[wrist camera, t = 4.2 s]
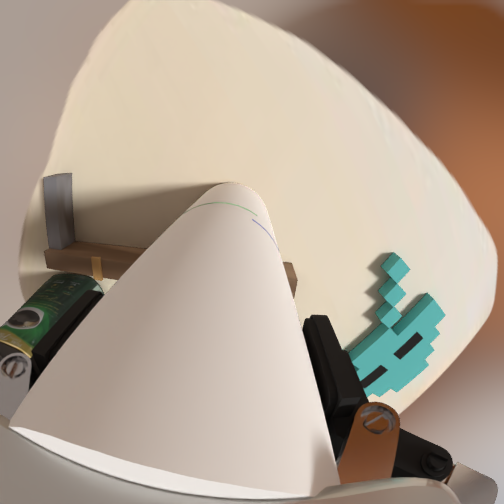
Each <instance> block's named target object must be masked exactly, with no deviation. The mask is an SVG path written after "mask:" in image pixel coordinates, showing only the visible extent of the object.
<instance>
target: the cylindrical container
mask: <svg viewBox="0 0 504 504" xmlns="http://www.w3.org/2000/svg"><path fill="white" fill-rule="evenodd" d="M8 427H9V428H10V429H12V430H13V431H15V432H17V433H18V434H20V435H22V436H23V437H25V438H27V439H29V440H30V441H32V442H34V443H36V444H38V445H39V446H41V447H43V448H45V449H47V450H49V451H51V452H53V453H55V454H57V455H60V456H62V457H64V458H66V459H68V460H71V461H73V462H75V463H78V464H80V465H83V466H85V467H88V468H90V469H93V470H96V471H98V472H101V473H104V474H107V475H110V476H113V477H116V478H119V479H123V480H126V481H129V482H133V483H137V484H140V485H144V486H149V487H153V488H157V489H162V490H167V491H172V492H178V493H184V494H190V495H197V496H205V497H215V498H227V499H246V500H277V499H296V498H308V497H315V496H316V495H317V494H318V493H319V492H320V491H321V490H323V489H324V488H325V487H327V486H334V485H341V484H340V479H339V475H338V470H337V466H336V462H335V457H334V453H333V449H332V444H331V440H330V436H329V432H328V428H327V424H326V419H325V415H324V411H323V407H322V403H321V399H320V395H319V391H318V388H317V384H316V380H315V376H314V372H313V368H312V365H311V361H310V357H309V353H308V350H307V346H306V342H305V338H304V335H303V331H302V327H301V324H300V320H299V317H298V313H297V310H296V306H295V303H294V299H293V296H292V292H291V289H290V286H289V282H288V279H287V275H286V272H285V269H284V265H283V262H282V259H281V255H280V252H279V249H278V245H277V242H276V238H275V235H274V232H273V228H272V225H271V222H270V219H269V216H268V212H267V209H266V206H265V204H264V202H263V200H262V199H261V197H260V196H259V195H258V194H257V193H256V192H255V191H254V190H252V189H251V188H249V187H247V186H245V185H242V184H239V183H223V184H219V185H216V186H214V187H213V188H211V189H209V190H208V191H207V192H206V193H204V194H203V195H202V196H201V197H200V198H199V199H198V200H197V201H196V202H195V203H194V204H193V205H191V206H190V207H189V208H188V209H187V210H186V211H185V212H184V213H183V214H182V215H181V216H180V217H179V218H178V219H177V220H176V221H175V222H174V223H173V224H172V225H171V226H170V227H169V228H168V229H167V230H166V231H165V232H164V233H163V234H162V235H161V236H160V237H159V238H158V239H157V240H156V241H155V242H154V243H153V244H152V245H151V246H150V247H149V248H148V249H147V250H146V251H145V252H144V253H143V254H142V255H141V256H140V257H139V258H138V259H137V260H136V261H135V262H134V263H133V264H132V266H131V267H130V268H129V269H128V270H127V271H126V272H125V273H124V274H123V275H122V276H121V277H120V279H119V280H118V281H117V282H116V283H115V284H114V285H113V286H112V287H111V288H110V290H109V291H108V292H107V293H106V294H105V295H104V296H103V298H102V299H101V300H100V301H99V302H98V303H97V304H96V306H95V307H94V308H93V309H92V310H91V311H90V313H89V314H88V315H87V316H86V317H85V319H84V320H83V321H82V322H81V323H80V325H79V326H78V327H77V328H76V330H75V331H74V332H73V333H72V334H71V336H70V337H69V338H68V339H67V341H66V342H65V343H64V345H63V346H62V347H61V348H60V350H59V351H58V352H57V354H56V355H55V356H54V358H53V359H52V360H51V362H50V363H49V364H48V366H47V367H46V368H45V370H44V371H43V372H42V374H41V375H40V377H39V378H38V379H37V381H36V382H35V384H34V385H33V386H32V388H31V389H30V391H29V392H28V394H27V395H26V397H25V398H24V400H23V401H22V403H21V404H20V406H19V407H18V409H17V410H16V412H15V413H14V415H13V417H12V418H11V420H10V424H9V426H8Z"/></svg>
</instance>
